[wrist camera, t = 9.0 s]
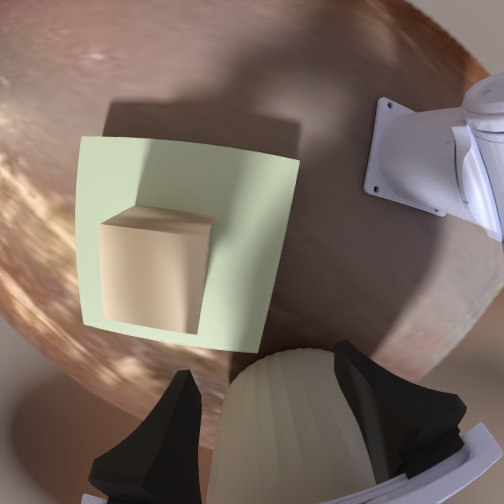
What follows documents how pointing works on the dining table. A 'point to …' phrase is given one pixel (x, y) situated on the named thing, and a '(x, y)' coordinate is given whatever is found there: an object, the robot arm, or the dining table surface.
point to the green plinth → (200, 201)
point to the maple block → (155, 267)
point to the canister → (288, 435)
